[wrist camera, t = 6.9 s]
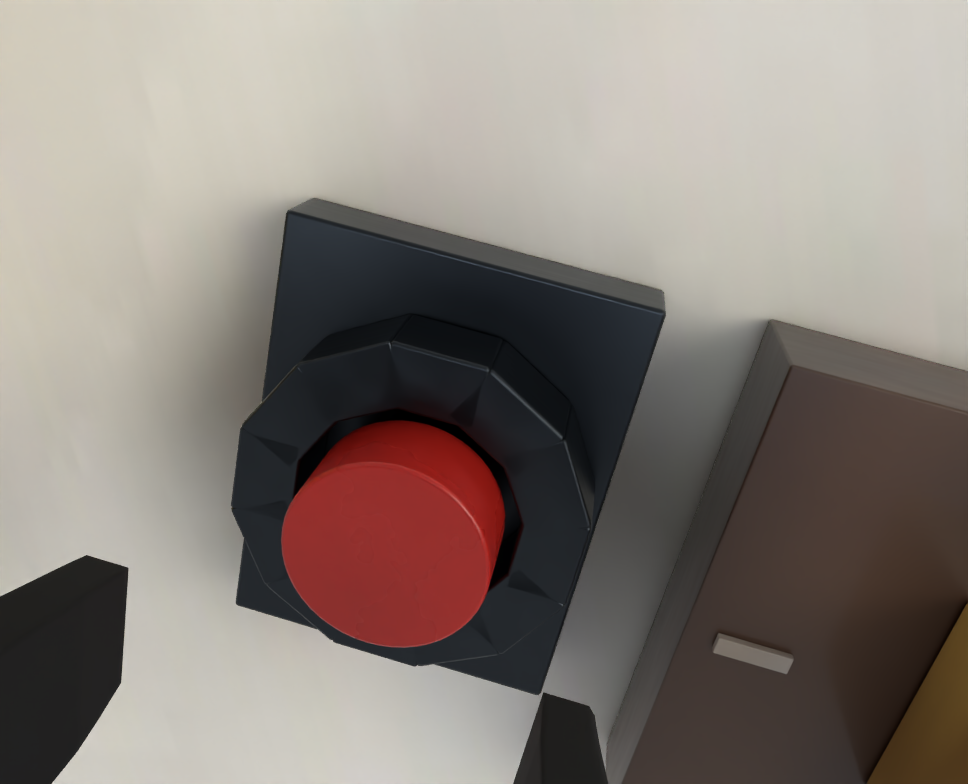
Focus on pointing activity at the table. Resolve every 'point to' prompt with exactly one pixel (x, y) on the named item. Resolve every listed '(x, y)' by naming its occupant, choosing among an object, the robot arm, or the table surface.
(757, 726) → the plate
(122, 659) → the robot arm
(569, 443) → the box
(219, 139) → the table surface
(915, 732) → the thumb turn
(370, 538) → the bell button
